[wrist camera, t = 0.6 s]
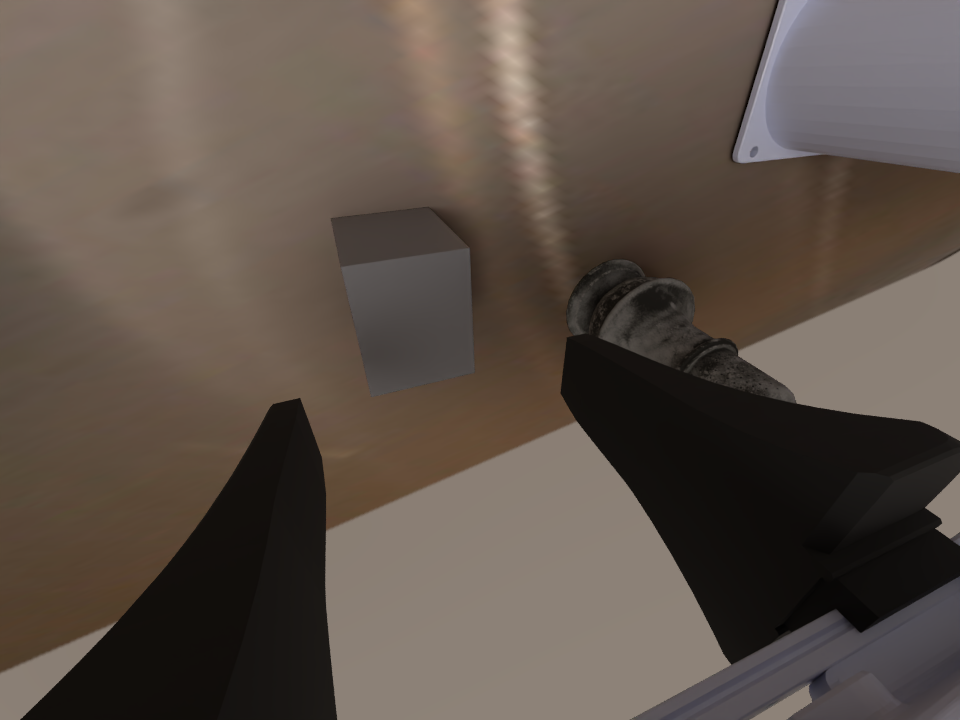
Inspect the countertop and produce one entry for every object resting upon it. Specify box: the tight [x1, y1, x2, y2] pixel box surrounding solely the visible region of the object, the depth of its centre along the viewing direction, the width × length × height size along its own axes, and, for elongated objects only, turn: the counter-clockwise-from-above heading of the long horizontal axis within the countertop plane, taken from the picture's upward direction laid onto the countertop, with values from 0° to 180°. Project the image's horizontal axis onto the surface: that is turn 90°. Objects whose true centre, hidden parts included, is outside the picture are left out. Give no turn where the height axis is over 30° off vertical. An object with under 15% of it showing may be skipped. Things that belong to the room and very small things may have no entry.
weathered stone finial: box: [566, 259, 797, 404], centre depth 19 cm, size 6×6×12 cm
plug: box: [331, 207, 475, 397], centre depth 16 cm, size 4×5×6 cm
